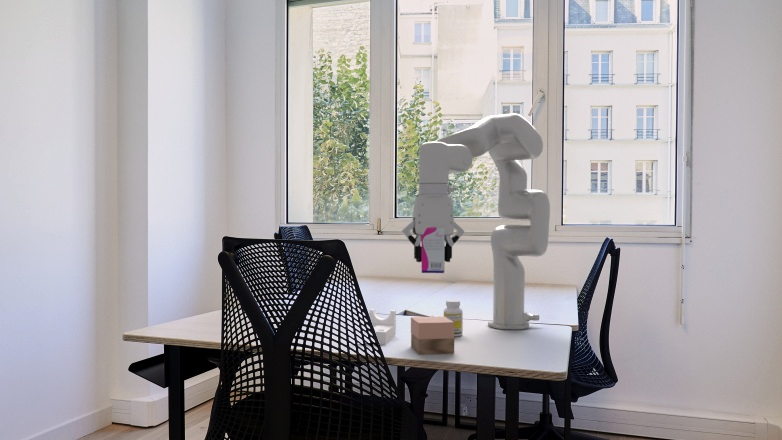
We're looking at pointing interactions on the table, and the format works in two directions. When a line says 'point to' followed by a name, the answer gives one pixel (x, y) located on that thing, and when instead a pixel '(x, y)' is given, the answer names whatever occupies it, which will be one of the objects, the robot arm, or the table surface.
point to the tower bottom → (432, 345)
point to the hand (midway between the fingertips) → (433, 261)
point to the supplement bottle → (454, 315)
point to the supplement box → (433, 250)
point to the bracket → (384, 326)
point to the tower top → (432, 327)
